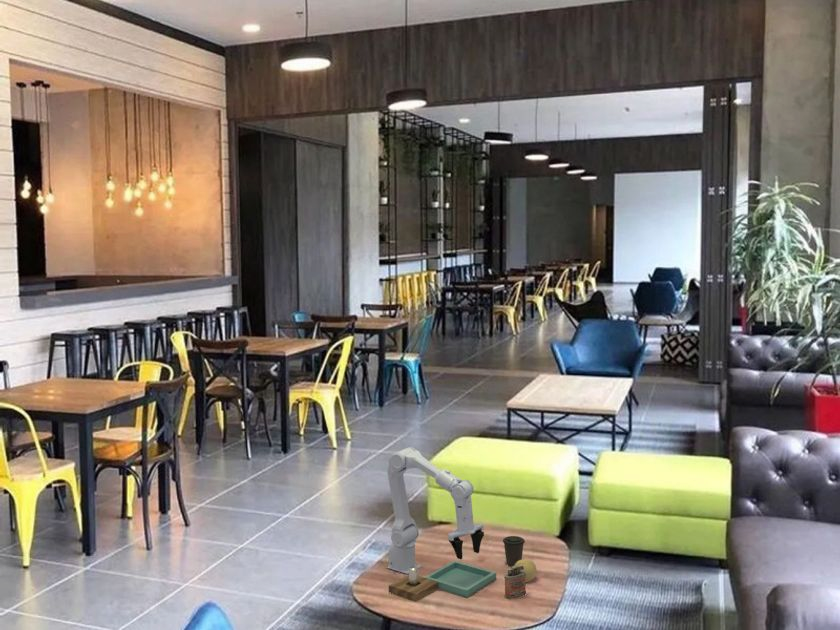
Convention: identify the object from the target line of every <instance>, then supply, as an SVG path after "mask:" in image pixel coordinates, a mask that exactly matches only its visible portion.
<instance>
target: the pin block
mask: <svg viewBox="0 0 840 630" xmlns="http://www.w3.org/2000/svg"><path fill="white" fill-rule="evenodd" d="M424 577H425V576H420V575H418V585H417V586H415V587H413V586H409V574H406V575H405V576H403V577H401V578H400V579H398V580H396V581H394V582H392V583H390V584H389V585H388V593H389V592H391V593H390V594H392V593H393V594H392V595H395V594H396V596H399V597H402V598H404V599H408V600H411V601H414V602H418V601H420V600H421V599H423V598H425V597H427V596H429V595H430V594H432V593H434V592H435V591H437V590H439V589H438V582H437V581H434V580H430V579H427V578H424Z"/></svg>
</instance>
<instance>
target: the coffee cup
mask: <svg viewBox="0 0 840 630" xmlns="http://www.w3.org/2000/svg"><path fill="white" fill-rule="evenodd" d="M525 542H526V541H525V539H524V538H523V537H522V536H517V535H516V536H515V535H509V536H506V537H504V538H503V539H502V543H503V546H504V555H505V561H506V562H505V563H506V566H507V565H508V567H509V566H511V567H512V566H514V565H515V564H516V562H517V561H519V560H522V559H523V551H524V544H525ZM511 567H510V568H511Z"/></svg>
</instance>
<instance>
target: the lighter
mask: <svg viewBox="0 0 840 630" xmlns="http://www.w3.org/2000/svg"><path fill="white" fill-rule="evenodd" d="M523 569H524V566H523V565H520V566H517V567H515V566H512V567H510V568H507V573H506V574H504V575H503V578H504V599H506V600H513V599H517V597H518V598H521V597H524V596H526V595H527V590H526V587H527V586H526V584H527V583H526V582H525V575H526V572H525V571H520V570H523ZM525 594H526V595H525ZM523 595H524V596H523ZM520 596H521V597H520ZM512 598H513V599H512Z"/></svg>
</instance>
